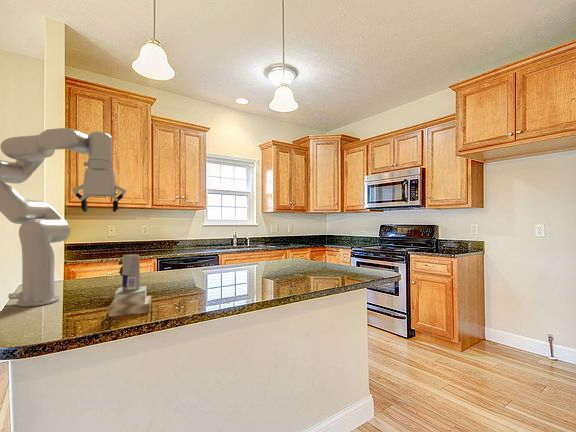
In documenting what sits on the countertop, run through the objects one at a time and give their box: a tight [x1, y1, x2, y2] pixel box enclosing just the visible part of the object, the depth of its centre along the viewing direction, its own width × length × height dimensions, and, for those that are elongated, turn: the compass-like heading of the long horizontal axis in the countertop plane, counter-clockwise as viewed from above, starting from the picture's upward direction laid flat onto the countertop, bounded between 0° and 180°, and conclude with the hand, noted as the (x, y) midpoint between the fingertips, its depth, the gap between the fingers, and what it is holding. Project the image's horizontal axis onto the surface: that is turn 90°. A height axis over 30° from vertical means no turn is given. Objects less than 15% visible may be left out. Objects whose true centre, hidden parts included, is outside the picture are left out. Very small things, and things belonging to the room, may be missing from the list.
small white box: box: [108, 285, 152, 317], centre depth 109 cm, size 12×12×7 cm
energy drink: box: [121, 253, 141, 291], centre depth 109 cm, size 5×5×12 cm
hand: (100, 211), depth 117 cm, fingers open, 9 cm apart
